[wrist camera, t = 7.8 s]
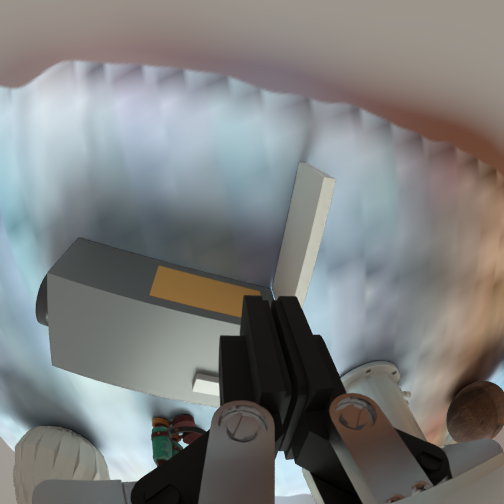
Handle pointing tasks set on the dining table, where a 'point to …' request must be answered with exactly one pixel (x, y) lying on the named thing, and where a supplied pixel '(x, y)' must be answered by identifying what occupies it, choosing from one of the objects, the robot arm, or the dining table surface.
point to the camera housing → (140, 321)
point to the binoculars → (172, 436)
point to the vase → (54, 460)
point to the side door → (303, 231)
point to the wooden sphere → (476, 412)
